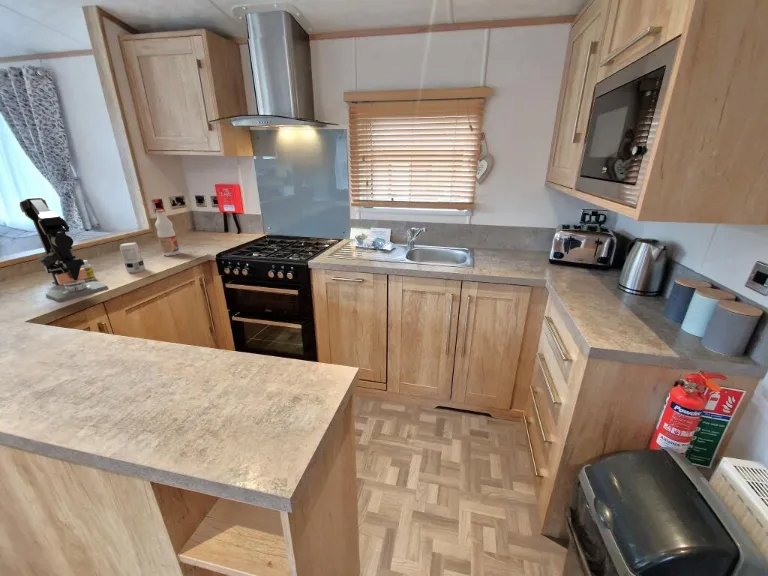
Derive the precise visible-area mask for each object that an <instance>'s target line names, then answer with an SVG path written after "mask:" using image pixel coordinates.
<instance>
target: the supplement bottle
mask: <svg viewBox="0 0 768 576" xmlns="http://www.w3.org/2000/svg"><path fill="white" fill-rule="evenodd" d="M82 260H83V261H84V265H82V266H81V268H84V269H85V271H86V273H87V276H88V278H86V279H84V282H91V281H93V280H95V279H96V276H95V273H94V270H93V267H92V265H91V264H89V260H88V259H82ZM81 268H80V269H81Z"/></svg>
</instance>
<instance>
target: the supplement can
mask: <svg viewBox="0 0 768 576" xmlns="http://www.w3.org/2000/svg"><path fill="white" fill-rule="evenodd" d="M119 251H120V252H121V253H120V254H121V256H122V260H123V263H124V266H125V269H126V270H125V271H126V272H127V273H130V274H134V273H140V272H143V271H145V269H146V267H145V264H144V260H143V257H142V253H141V251H140V247H139V245H138V244H137V242H125V243H121V244H120V245H119Z"/></svg>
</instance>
